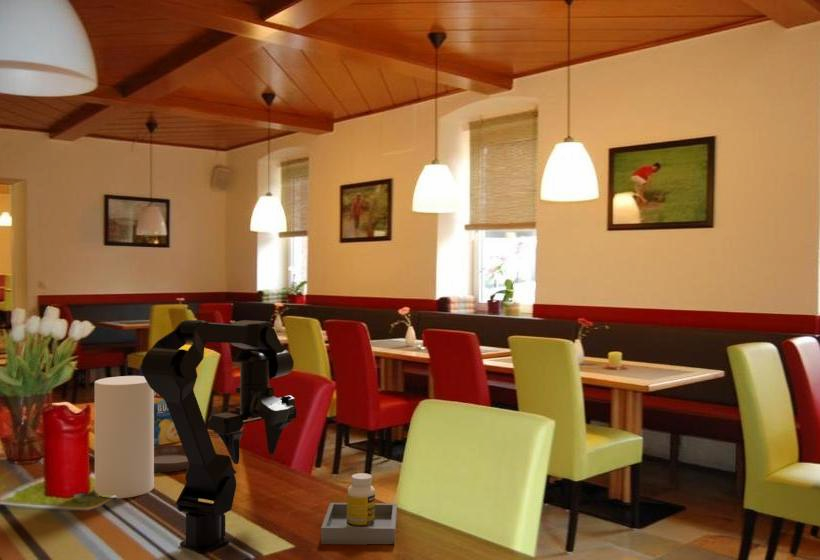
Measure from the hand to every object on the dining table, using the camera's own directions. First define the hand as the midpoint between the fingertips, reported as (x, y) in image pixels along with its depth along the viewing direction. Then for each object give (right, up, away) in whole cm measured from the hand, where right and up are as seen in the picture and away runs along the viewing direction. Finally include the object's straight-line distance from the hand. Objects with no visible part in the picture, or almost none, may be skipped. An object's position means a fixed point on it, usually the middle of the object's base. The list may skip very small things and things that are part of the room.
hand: (254, 458), depth 143 cm
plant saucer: (-30, -11, +38) cm, 50 cm away
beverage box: (-40, -11, +60) cm, 73 cm away
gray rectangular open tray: (+22, -12, -6) cm, 26 cm away
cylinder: (-33, -12, +17) cm, 39 cm away
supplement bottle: (+22, -12, -6) cm, 26 cm away
